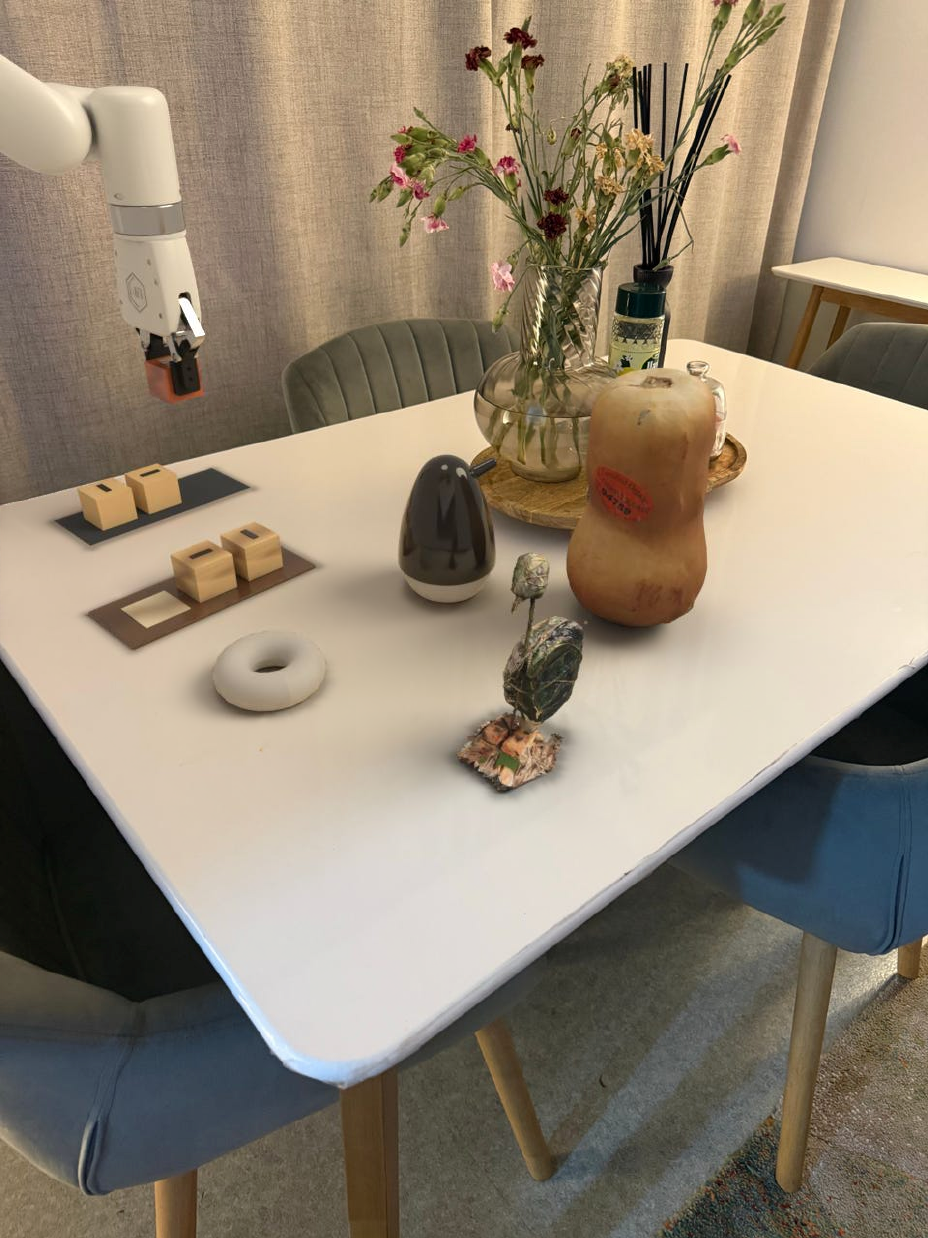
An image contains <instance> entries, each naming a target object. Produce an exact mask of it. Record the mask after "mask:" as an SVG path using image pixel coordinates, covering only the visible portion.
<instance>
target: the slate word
mask: <svg viewBox="0 0 928 1238" xmlns="http://www.w3.org/2000/svg"><path fill="white" fill-rule="evenodd" d="M123 475H124V479H125V483H123V482H121V481H120V480H118V479H116V478H114V477H112V476H111V477H109V478H106V479H102V480H99V481H96V482H93V483H90V484H87V485H84V486H80V487H78V488H76V489H77V493H78V494H77V495H78V496H79V502H80V506H81V509H82V510H81V511H78V512H76V513H73V514H70V515H67V516H64V517H61V518H58V519H55V520H54V523H57V524H58V525H59V526H61V527H62V528H64V529H65V530H67V531H68V532H70V533H71V534H72V535H74V536H76V537H77V538H78V539H80V540H82V541H83V542H85V543H86V544H87V545H89V546H95V545H96V544H99V543H103V542H106V541H107V540H110V539H113V538H116V537H119V536H121V535H124V534H126V533H130V532H132V531H136V530H138V529H140V528H143V527H146V526H148V525H152V524H154V523H157V522H160V521H162V520H165V519H168V518H170V517H174V516H176V515H177V516H178V515H179V514H182V513H184V512H187V511H190V510H193V509H196V508H200V507H202V506H205V505H207V504H209V503H213V502H215V501H218V500H220V499H223V498H226V497H229V496H231V495H234V494H237V493H240V492H242V491H246V490H248V489H250V488H251V486H249V485H247V484H245V483H243V482H241V481H239V480H237V479H235V478H233V477H231V476H230V475H227V474H225V473H223V472H221V471H219V470H217V469H216V468H215V469H214V468H213V467H210V468H207V469H204V470H201V471H198V472H195V473H192V474H189V475H186V476H183V477H179V478H178V477H177V476H178V475H177V473H176V472H175V471H173V470H170V469H168V468H167V467H165V466H163V465H161V464H159V463H157V462H156V463H153V464H150V465H147V466H144V467H141V468H138V469H134V470H131V471H128V472H125V473H123Z"/></svg>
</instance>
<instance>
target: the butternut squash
mask: <svg viewBox="0 0 928 1238" xmlns="http://www.w3.org/2000/svg"><path fill="white" fill-rule="evenodd" d="M716 422H717V402H716V398H715V395H714V393H713V391H712V389H711V388H710V387H709V386H708V384H707V383H706V382H705V381H704V380H702V379H701V378H699V377H697V376H694V375H692V374H690V373H689V372H686V371H684V370H680V369H676V368H669V367H656V368H655V367H654V368H645V369H638V370H630V371H629V372H626V373H624V374H622V375H619V376H617V377H615V378H613V379H611V380H610V381H609V382H608V383H606V384H605V385H604V386H603V388H601V391H600V392H599V393H598V394H597V397H596V398H595V400H594V403H593V406H592V408H591V413H590V417H589V426H588V436H587V442H586V443H587V444H586V452H585V473H586V474H585V475H586V481H587V486H588V500H587V502H586V503H587V504H586V506H585V508H584V511H583V513H582V514H581V516H580V518H579V520H578V522H577V523H576V525H575V527H574V530H573V532H572V535H571V537H570V540H569V543H568V547H567V552H566V561H565V562H566V563H565V564H566V567H565V569H566V570H565V571H566V576H567V579H568V584H569V587H570V590H571V593H572V594H573V595H574V597H575V598H576V600H577V602H578V603H579V604H580V606H581V607H583V608H584V609H586V610H587V611H589V612H590V613H593V615H594V614H595V615H596V616H598V617H600V618H602V619H604V620H606V621H609V622H611V623H612V624H616V625H620V626H623V627H629V628H633V629H635V628H640V627H648V626H649V627H650V626H655V625H667V624H671V623H672V622H674V621H676V620H677V619H678V620H679V618H681V617H683V616H685V615H686V614H688V613H689V612H691V611H692V610H693V608H694V607H695V601H696V599H697V598H698V596H699V594H700V592H701V591H702V588H703V586H704V583H705V581H706V575H707V571H708V551H707V550H708V548H707V540H706V534H705V525H704V513H705V505H706V504H705V503H706V496H707V487H708V480H709V479H708V478H709V470H710V469H709V467H710V459H711V454H712V451H713V448H714V446H715V443H716V441H717V430H716V429H717V427H716Z"/></svg>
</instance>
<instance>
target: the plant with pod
mask: <svg viewBox="0 0 928 1238" xmlns="http://www.w3.org/2000/svg"><path fill="white" fill-rule="evenodd" d="M550 569H551V567H550V562H549V560H548V558H547V557H546V556H545V555H543V554H541V553H540V554H538V553H534V552H527V553H524V554H521V555H519V556H518V558H517V560H516V562H515V567H514V568H513V573H512V578H511V588H510V589H509V590H510V591H511V593H512V594H514V595H515V599H514V601H513V602H512V603H511V605H512V607H511V610H510V613H511V614H512V615H513V614H514V613H516V611H517V609H518V605H520V604H522V603H524V602H525V601H526V600H529V609H528V620H527V627H526V628H527V629H526V631H525V632H524V634H523V635H522V636H521V637H519V639H518V640H517V642H516V644H514V646H513V648H512V651H511V653H510V655H509V657H508V659H507V661H506V664H505V667H504V668H503V669H504V670H503V671H502V679H503V684H502V685H501V686H502V688H503V697H504V700H505V702H506V703H507V704H508V705H510V706H511V707H513V710H512V712H510V713H509V711H506V712H504V713H503V714H502V715H497V717H495V719H492V720H491V719H490V720H485V723H483V722H482V724H478V725H479V727H478V728H477V730H476V731H473V733H474V734H472V735H469V736H466V739H467V742H466V743H463V746H464V747H461V749H460V751H459V752H457V757H458V760H459V761H461V763H462V762H463V763H466V765H469V764H471V763H473V762H474V764H473V769H476V768H477V767H478V770H477V772H481V773H484V774H483V775H482V778H487V780H491V782H492V783H493V782H494V783H493V784H492V786H495V787H496V788H497V790H499V791H504V790H505V791H506V790H507V791H510V790H514V789H515V788H516V787H520V786H521V785H525V784H526V783H528V782H530V780H533V779H535V778H537V777H539V776H540V777H541V774H544V775H547V772H546V771H548V772H551V770H552V769H554V768H555V766H554V765H556V762H557V755H558V753H559V751H560V750H562V749H563V748H561V747H562V746H561V745H562V744H563V743H562V742H563V739H564V738H565V736H561V735H560V733H558V734H556V732H555V733H550V738H549V739H548V740H547V738H546V737H545V736H543V734H542V732H541V731H540V730H539V727H540V726H541V725H543V724H544V723H545V721H547V720H549V719H550V718H552V717H553V716H554V715H555V714H556V713H557V712H558V711H559V710H560V709H561V708H562V707H563V706H564V704H566V703H567V702H568V701H569V700H570V698H571V696H572V694H573V691H574V687H575V684H576V682H577V680H578V678H579V672H580V667H581V664H582V661H583V658H584V656H583V646H584V642H583V640H584V631H583V630H584V629H583V627H582V626H581V625H580V624H579V623H578V622H577V621H575V619H571V618H565V617H564V616H563V617H562V616H557V615H554V616H551V617H547V618H545V619H544V620H542V621H539V622H537V623H536V624H534V625H533V622H534V615H535V611H536V610H535V609H536V600H539V599H542V598H543V596H544V595H545V593H546V591H547V588H548V584H549V575H550ZM583 624H584V625H588V621H587V619H586V620H584V622H583ZM517 712H520V715H519V714H516V713H517ZM546 740H547V741H546Z"/></svg>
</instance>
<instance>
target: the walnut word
mask: <svg viewBox="0 0 928 1238" xmlns="http://www.w3.org/2000/svg"><path fill="white" fill-rule="evenodd" d="M219 537H220V542H221V546H219V545H217V544H216V543H214V542H212V541H211V540H209V539H206V540H203V541H201V542H198V543H196V544H193V545H191V546H188V547H185V548H183V549H180V550H177V551H175V552H173V553H171V554H170V560H171V565H172V571H173V575H174V576H172V577H170V578H167V579H165V580H162V581H160V582H157V583H154V584H153V585H150V586H147V587H146V588H143V589H140V590H138V591H136V592H133V593H131V594H128V595H126V596H124V597H121V598H119V599H116V600H113V601H111V602H109V603H107V604H104V605H102V606H99V607H96V608H95V609H92V610H89V611H88V612H87V613H88V614H87V615H89V616H90V618H93V620H95V621H96V622H97V623H99V624H100V625H102V626H103V627H104V628H105V629H107V630H108V631H109V632H110V633H112V634H113V635H114V636H115V637H116V638H118V639H119V640H121V641H122V642H123V643H125V644H126V645H127V646H128V647H130V648H131V649H132V650H133V651H134V650H138V649H140V648H142V647H145V646H146V645H149V644H151V643H153V642H155V641H158V640H160V639H162V638H164V637H166V636H169V635H171V634H173V633H176V632H178V631H180V630H182V629H184V628H186V627H188V626H191V625H192V624H195V623H197V622H199V621H201V620H204V619H206V618H209V617H210V616H213V615H215V614H217V613H219V612H222V611H224V610H226V609H228V608H230V607H232V606H236V605H237V604H240V603H241V602H244V601H246V600H248V599H250V598H252V597H255V596H256V595H259V594H261V593H264V592H265V591H268V590H270V589H272V588H274V587H276V586H279V585H281V584H283V583H286V582H288V581H290V580H292V579H294V578H296V577H299V576H301V575H303V574H305V573H308V572H309V571H312V570H314V569H316V568H317V564H314V563H313V562H311V561H309V560H308V559H305V558H303V557H302V556H300V555H298V554H296V553H295V552H293V551H291V550H289V549H287V548H285V547H283V546H282V545H281V537H280V534H279V533H277V532H276V531H274V530H272V529H270V528H268V527H266V526H264V525H262V524H260V523H258V522H256V521H252V522H249V523H246V524H244V525H242V526H240V527H237V528H234V529H232V530H229V531H227V532H224V533H221V534H220V536H219Z"/></svg>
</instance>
